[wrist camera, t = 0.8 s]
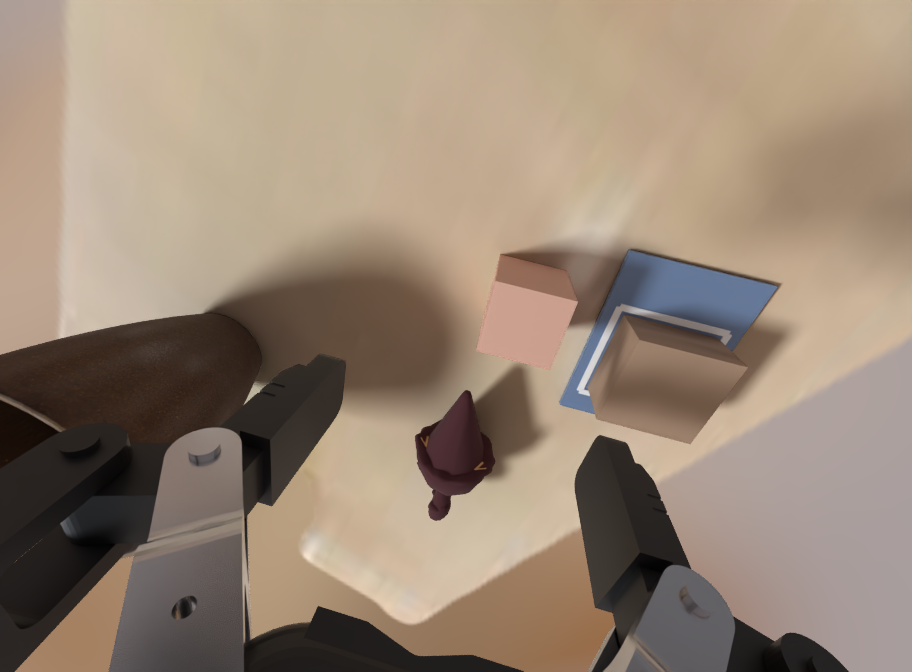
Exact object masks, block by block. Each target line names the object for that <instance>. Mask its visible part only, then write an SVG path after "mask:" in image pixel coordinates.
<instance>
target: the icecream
mask: <svg viewBox="0 0 912 672" xmlns="http://www.w3.org/2000/svg"><path fill="white" fill-rule="evenodd" d="M415 442H416V449H417V459H418V462H417V464H418V467H419V469H420V470H421V472H422V474H423V476H424V478H425V480H426V482H427V484H428V485H429V486H430V488H432V489H433V491H432V493H433V499H432V501H431V502H430V503H429V505H428V508H429V511H428V512H429V516H430V518H431V519H433V520H435V521H437V520H441V519H443V518H444V517H445V516H446V515H447V514H448V512H449V510H450V506H451V500H450V499H451V496H452V495H460V494H466V493H469V492H470V491H471V490H472V489H473V488H474V487H475V486H476V485H477V484H478V483H480V482H481V481H482V480H483V478H484V476H486V475H488V474H489V473H491V471H492V467H493V465H494V464H495V459H494V456H493V451H492V444H491V441H490V439H489V438H488V437H487V436H486V435H484V434H483V433H482V432H480V429H479V425H478V421H477V417H476V412H475V408H474V403H473V399H472V395H471V392H470V391H468V390H465V391H464V392H463V393H462V394H461V396H460V397H459V398H458V400H457V401H456V402H455V403H454V405H453V406H452V407H451V409H450V410H449V411H448V412H447V414H446V415H445V416H444V418H443V419H442V420H440V421H438V422H436V423H434V424H432V425H431V426H427V427H424V428H423V429H422V430H421V433H419V434H417V435H416V436H415Z"/></svg>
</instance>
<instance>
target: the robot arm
mask: <svg viewBox="0 0 912 672" xmlns="http://www.w3.org/2000/svg"><path fill="white" fill-rule="evenodd" d="M345 369H346V362H345V361H344V360H342V359H338V358H335V357H331V356H328V355H325V354H319V355H318V356H317V357H316V358H315V359H314V360H312V361H311V362H310V363H309V364H308V365H307V366H303V365H300V364H298V365H296V366H293V367H291V368H289V369H286V370H284V371H282V372H281V373H280V374H279V375H277V376H276V377H275V378H274V379H273V380H272V381H271V382H270V384H267V385H266V386H265V387H264V388H263V389H262V390H260V393H257V394H256V395H255V396H254V397H252V398H251V399H250V400H249V401H248V402H247V403H246V404H245V405H243V406H242V407H241V408H240V409H239V410H238V411H237V412H235V413H234V414H233V415H232V416H231V417H230V418H229V419H228V420H226V421H225V422H224V423H223V424H222V425H221V426H220V427H218V428H205V429H200V430H197V431H193V432H191V433H189V434H186V435H184V436H183V437H181V438H179V439H178V440H176V441H175V442H174V443H130V442H129V438H128V434H127V432H126V430H125V429H124V428H122V427H121V426H119V425H116V424H112V423H91V424H85V425H80V426H76V427H73V428H70V429H67V430H64V431H62V432H60V433H57V434H55V435H53V436H52V437H50V438H48V439H46V440H45V441H43V442H42V443H40V444H39V445H37V446H35V447H34V448H32V449H31V450H29V451H27V452H26V453H24V454H23V455H21V456H20V457H18V458H16V459H15V460H13V461H12V462H10V463H8V464H7V465H5V466H4V467H2V468H0V672H15V671H16V670H17V668H18V667H19V666H20V665H21V664H22V663H23V662H24V661H25V660H26V659H27V658H28V657H29V656H30V654H31V653H32V652H33V651H34V650H35V649H36V648H37V647H38V646H39V645H40V643H42V642H43V641H44V640H45V638H46V637H47V636H48V635H49V634H50V633H51V632H52V631H53V630H54V629H55V628H56V627H57V625H59V623H60V622H61V621H62V620H63V619H64V618H65V617H66V616H67V615H68V614H69V613H70V612H71V611H72V610H73V608H74V607H75V606H76V605H77V604H78V603H79V602H80V601H81V600H82V599H83V598H84V597H85V596H86V595H87V593H88V592H89V591H90V590H91V589H92V588H93V587H94V586H95V585H96V584H97V583H98V582H99V581H100V580H101V578H102V577H103V576H104V575H105V574H106V573H107V572H108V571H109V570H110V569H111V568H112V567H113V566H114V565H115V563H116V562H117V561H118V560H119V559H120V558H121V557H122V556H123V555H124V554H125V553H126V552H127V551H128V550H129V548H130V547H131V546H132V545H133V544H134V543H141V544H140V545H139V546H138V548H137V549H136V552H135V555H134V558H133V562H132V566H131V571H130V576H129V580H128V585H127V589H126V594H125V599H124V603H123V608H122V613H121V617H120V622H119V626H118V631H117V635H116V640H115V645H114V649H113V654H112V659H111V663H110V668H109V672H524V671H521V670H518V669H515V668H511V667H509V666H505V665H502V664H499V663H496V662H493V661H490V660H487V659H483V658H480V657H477V656H474V655H452V656H417V655H414V654H412V653H410V652H409V651H408V650H406V649H405V648H403V647H402V646H401V645H399V644H398V643H396V642H395V641H394V640H392V639H391V638H389V637H388V636H387V635H385V634H384V633H383V632H381V631H380V630H378V629H377V628H376V627H374V626H373V625H371V624H370V623H369V622H367V621H363V620H361V619H357V618H354V617H351V616H348V615H345V614H342V613H338V612H335V611H332V610H329V609H326V608H322V607H319V606H318V607H317V609H316V612H315V614H314V616H313V618H312V621H311V622H308V623H297V624H291V625H286V626H283V627H279V628H276V629H273V630H271V631H268V632H266V633H264V634H261V635H259V636H257V637H255V638H253V639H252V629H251V607H250V583H249V550H248V549H249V548H248V517H247V515H248V514H249V513H250V511H251V510H252V509H253V508H254V506H255V505H256V503H257V502H259V503H263V504H266V505H269V506H273V504H274V503H275V502H276V500H277V499H278V497H279V496H280V495H281V493H282V492H283V490H284V489H285V487H286V486H287V485H288V483H289V482H290V481H291V479H292V478H293V477H294V475H295V474H296V472H297V471H298V470H299V468H300V467H301V465H302V464H303V463H304V461H305V460H306V458H307V457H308V456H309V454H310V453H311V451H312V450H313V449H314V447H315V446H316V444H317V443H318V442H319V440H320V439H321V437H322V436H323V435H324V433H325V432H326V430H327V429H328V428H329V426H330V425H331V424H332V422H333V421H334V419H335V418H336V416H337V414H338V412H339V410H340V407H341V404H342V399H343V390H344V380H345ZM575 494H576V500H577V506H578V511H579V517H580V523H581V529H582V534H583V540H584V546H585V552H586V558H587V564H588V569H589V575H590V581H591V587H592V593H593V598H594V604H595V608H598V609H601V610H605V611H608V612H612V613H613V616H614V621H615V625H614V626H613V627H612V628H611V630H610V631H609V633H608V635H607V637H606V639H605V640H604V642H603V644H602V646H601V648H600V650H599V652H598V653H597V655H596V657H595V659H594V661H593V663H592V664H591V666H590V668H589V670H588V672H848V670H847V669H846V668H845V667H844V666H843V665H842V664H841V663H840V662H839V661H838V660H837V659H836V658H835V657H834V656H833V655H832V654H830V653H829V652H828V651H827V650H826V649H824V648H823V647H822V646H820V645H819V644H817V643H816V642H814V641H813V640H811V639H809V638H807V637H805V636H803V635H800V634H797V633H786V634H785V635H783V636H782V637H781V638H779V639H778V640H776V641H773V640H771V639H770V638H768V637H766V636H765V635H763V634H761V633H760V632H758V631H756V630H755V629H753V628H751V627H750V626H748V625H746V624H745V623H743V622H741V621H740V620H738V619H737V618H735V617H733V615H732V613H731V611H730V609H729V607H728V605H727V603H726V602H725V600H724V599H723V597H722V596H721V595H720V593H719V592H718V591H717V590H716V589H715V588H714V587H713V586H712V584H710V583H709V582H708V581H707V580H706V579H705V578H704V577H702V576H701V575H700V574H698V573H696V572H695V571H693V570H691V567H690V565H689V562H688V560H687V558H686V555H685V553H684V551H683V548H682V546H681V544H680V541H679V539H678V537H677V534H676V532H675V529H674V527H673V525H672V522H671V520H670V518H669V515H667V514H666V513H667V511H666V508H665V506H664V504H663V501H661V500H660V499H661V497H660V494H659V492H658V490H657V487H656V485H655V483H654V481H653V479H652V478H651V477H650V476H649V474H648V473H647V472H646V471H645V469H644V468H643V467H642V466H641V465H640V464H637V463H635V462H634V459H633V456H632V454H631V451H630V449H629V446H628V445H627V443H625V442H622V441H619V440H615V439H612V438H609V437H605V436H602V435H599V436H598V437H597V438H596V439H595V440H594V442H593V444H592V446H591V447H590V449H589V451H588V453H587V454H586V456H585V458H584V460H583V462H582V463H581V465H580V467H579V469H578V471H577V474H576V478H575ZM55 527H56V528H55ZM54 528H55V529H54ZM48 533H49V534H48ZM42 538H43V539H42ZM41 539H42V540H41ZM36 543H37V544H36ZM35 544H36V545H35ZM29 549H30V550H29ZM28 550H29V551H28ZM23 554H24V555H23ZM22 555H23V556H22ZM17 559H18V560H17ZM16 560H17V561H16ZM15 561H16V562H15Z"/></svg>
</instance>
